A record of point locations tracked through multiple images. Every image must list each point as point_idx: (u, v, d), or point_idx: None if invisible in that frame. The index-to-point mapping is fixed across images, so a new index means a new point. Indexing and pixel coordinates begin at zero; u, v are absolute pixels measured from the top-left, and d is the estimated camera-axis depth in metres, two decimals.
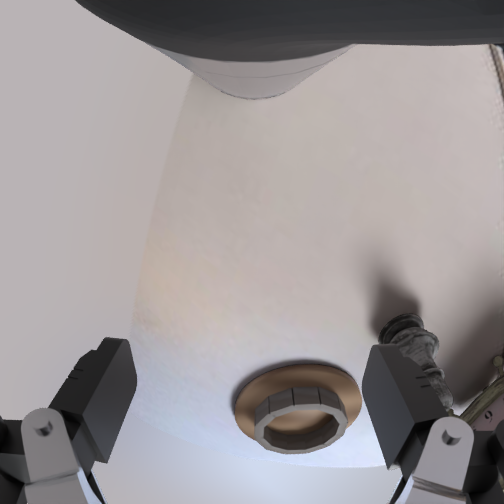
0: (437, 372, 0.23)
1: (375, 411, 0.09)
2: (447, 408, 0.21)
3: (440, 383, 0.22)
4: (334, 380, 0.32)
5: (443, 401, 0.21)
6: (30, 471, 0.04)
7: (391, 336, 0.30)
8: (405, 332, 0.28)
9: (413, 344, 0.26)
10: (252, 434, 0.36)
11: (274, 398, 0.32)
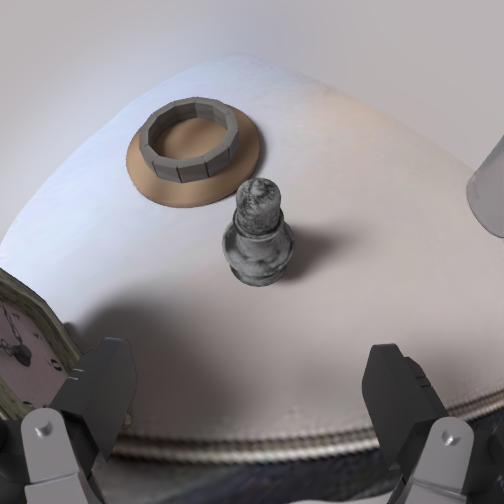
0: (276, 227, 0.22)
1: (375, 411, 0.09)
2: (260, 196, 0.19)
3: (278, 214, 0.21)
4: (232, 178, 0.32)
5: (276, 193, 0.20)
6: (30, 472, 0.04)
7: None
8: None
9: (284, 237, 0.26)
10: None
11: None
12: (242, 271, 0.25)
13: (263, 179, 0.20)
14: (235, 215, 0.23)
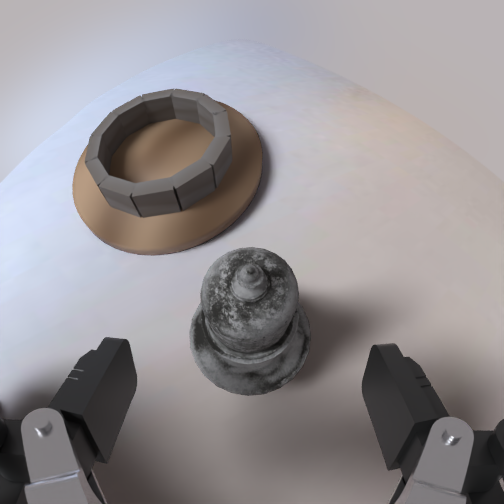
0: (283, 338, 0.11)
1: (375, 411, 0.09)
2: (253, 302, 0.08)
3: None
4: (217, 213, 0.21)
5: (289, 292, 0.09)
6: (30, 471, 0.04)
7: None
8: None
9: None
10: None
11: None
12: (220, 385, 0.14)
13: (262, 255, 0.09)
14: None
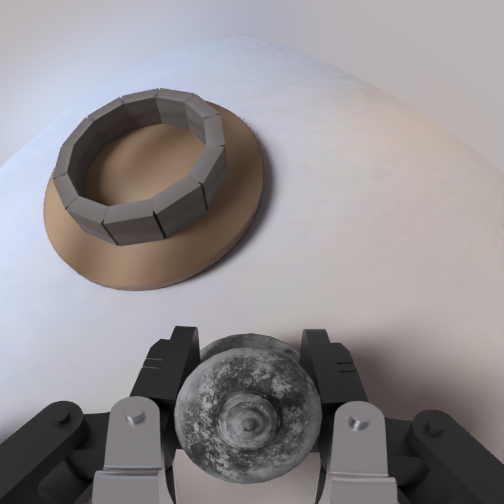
0: None
1: None
2: (254, 449, 0.05)
3: None
4: (208, 241, 0.17)
5: (310, 425, 0.05)
6: (106, 457, 0.05)
7: None
8: None
9: None
10: None
11: None
12: None
13: (268, 369, 0.05)
14: None
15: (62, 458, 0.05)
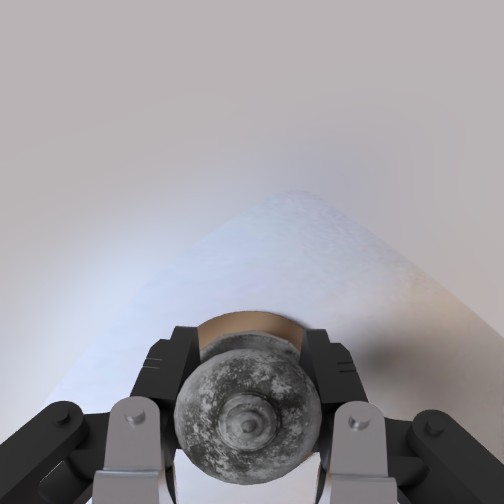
0: None
1: None
2: (254, 451, 0.05)
3: None
4: None
5: (310, 427, 0.05)
6: (106, 457, 0.05)
7: None
8: None
9: None
10: (226, 321, 0.28)
11: None
12: None
13: (268, 371, 0.05)
14: None
15: (62, 458, 0.05)
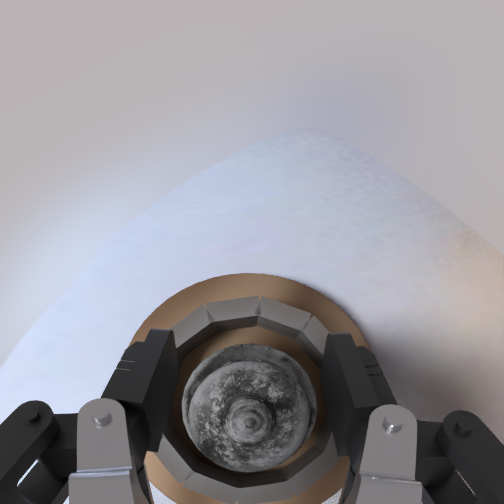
0: None
1: (329, 398, 0.09)
2: (253, 443, 0.06)
3: None
4: (331, 482, 0.14)
5: (299, 425, 0.06)
6: (78, 460, 0.05)
7: None
8: None
9: None
10: (215, 288, 0.19)
11: None
12: None
13: (265, 379, 0.07)
14: None
15: (37, 456, 0.05)
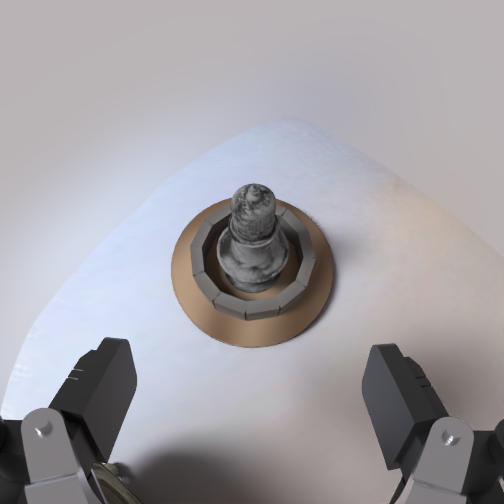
0: (270, 234, 0.22)
1: (375, 411, 0.09)
2: (255, 202, 0.19)
3: (273, 221, 0.21)
4: (304, 317, 0.28)
5: (271, 200, 0.20)
6: (29, 471, 0.04)
7: None
8: None
9: (279, 244, 0.26)
10: None
11: None
12: (235, 277, 0.25)
13: (259, 185, 0.20)
14: (230, 220, 0.23)
15: None
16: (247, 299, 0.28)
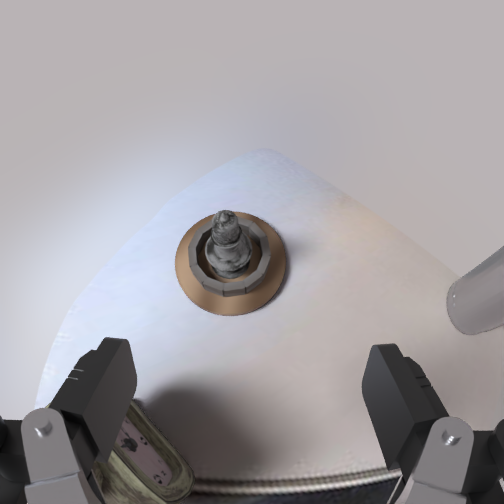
0: (236, 240, 0.36)
1: (375, 411, 0.09)
2: (225, 222, 0.34)
3: (237, 232, 0.35)
4: (264, 295, 0.42)
5: (234, 220, 0.34)
6: (30, 472, 0.04)
7: None
8: None
9: (245, 246, 0.40)
10: None
11: None
12: (216, 267, 0.39)
13: (228, 211, 0.34)
14: (212, 231, 0.37)
15: None
16: (225, 283, 0.42)
